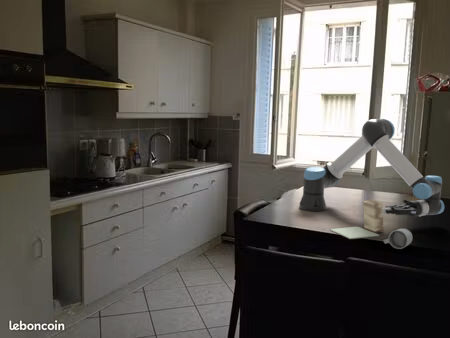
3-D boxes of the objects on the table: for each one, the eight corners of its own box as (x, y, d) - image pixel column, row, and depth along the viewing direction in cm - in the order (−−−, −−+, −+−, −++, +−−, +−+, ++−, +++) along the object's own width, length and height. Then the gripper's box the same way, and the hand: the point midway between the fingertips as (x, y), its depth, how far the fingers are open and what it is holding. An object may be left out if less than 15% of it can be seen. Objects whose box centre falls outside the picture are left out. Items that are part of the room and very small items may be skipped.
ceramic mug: (413, 246, 168) (414, 228, 167) (406, 251, 162) (408, 232, 161) (387, 241, 175) (388, 223, 174) (380, 245, 169) (381, 227, 168)
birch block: (372, 227, 193) (371, 199, 190) (383, 231, 187) (382, 202, 184) (364, 229, 191) (362, 201, 189) (375, 233, 185) (373, 204, 182)
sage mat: (357, 227, 194) (357, 226, 194) (378, 235, 181) (379, 234, 181) (330, 230, 188) (330, 229, 188) (350, 239, 175) (350, 237, 175)
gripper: (426, 219, 191) (388, 222, 182) (405, 212, 203) (368, 215, 194) (428, 203, 190) (390, 206, 181) (406, 198, 202) (369, 200, 193)
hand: (378, 211), depth 188 cm, fingers closed
